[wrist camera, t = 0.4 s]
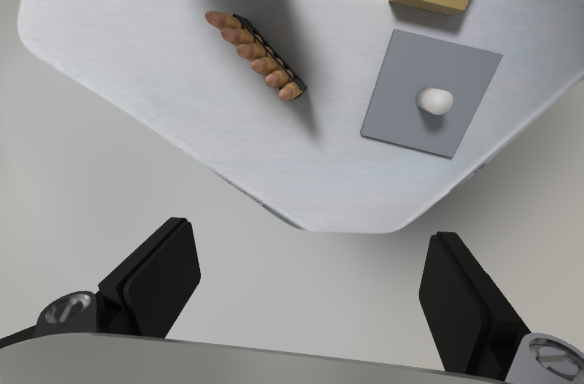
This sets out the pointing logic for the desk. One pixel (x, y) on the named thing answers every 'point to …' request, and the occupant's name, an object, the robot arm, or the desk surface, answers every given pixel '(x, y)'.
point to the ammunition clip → (258, 53)
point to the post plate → (427, 72)
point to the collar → (436, 5)
